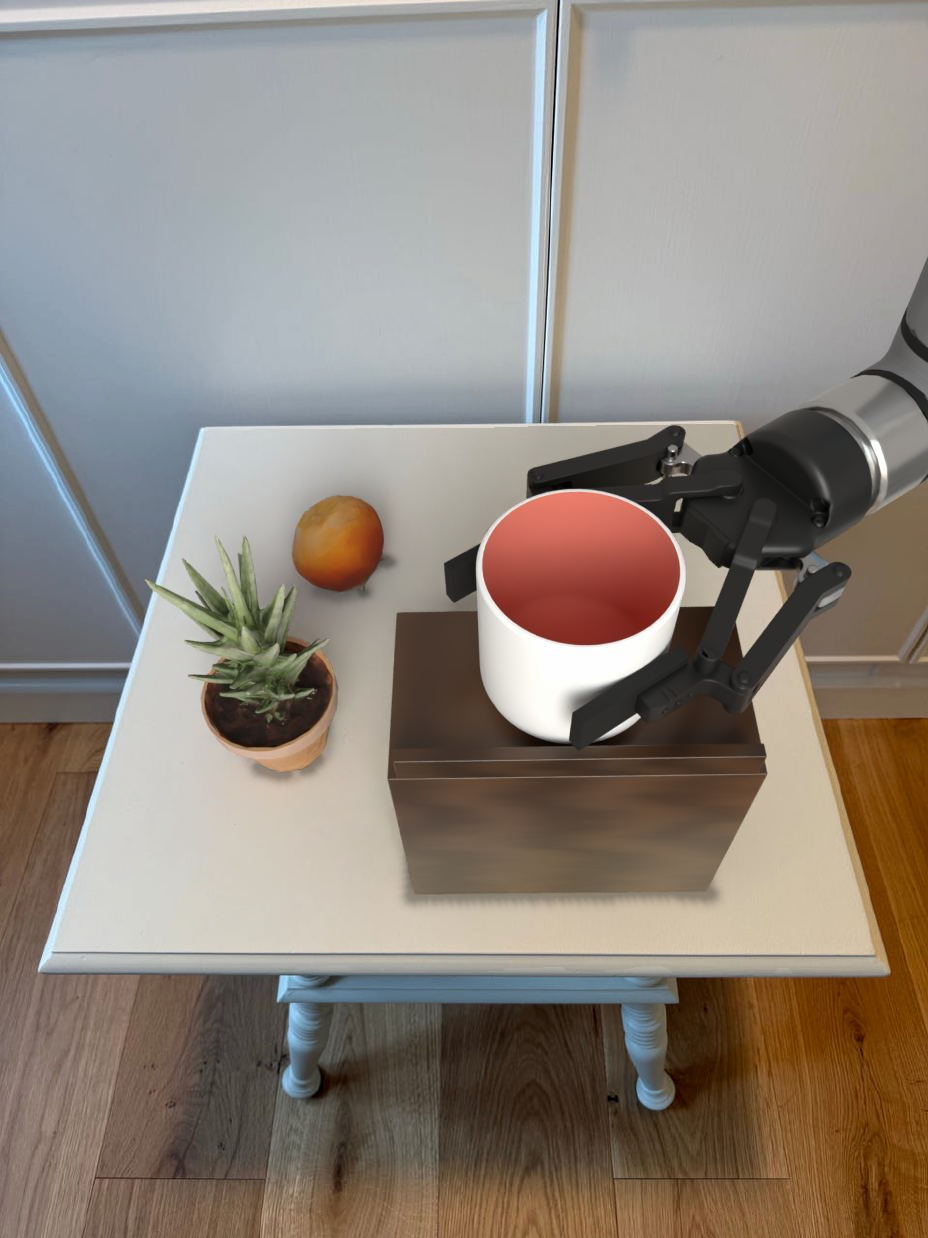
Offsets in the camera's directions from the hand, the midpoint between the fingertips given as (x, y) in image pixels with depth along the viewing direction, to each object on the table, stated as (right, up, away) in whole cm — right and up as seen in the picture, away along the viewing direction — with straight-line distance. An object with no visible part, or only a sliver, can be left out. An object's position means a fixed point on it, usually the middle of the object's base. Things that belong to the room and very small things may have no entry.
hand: (508, 653), depth 46 cm
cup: (+4, -2, +6) cm, 7 cm away
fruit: (-13, +6, +35) cm, 37 cm away
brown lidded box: (+4, -13, +20) cm, 24 cm away
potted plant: (-15, -8, +25) cm, 30 cm away
